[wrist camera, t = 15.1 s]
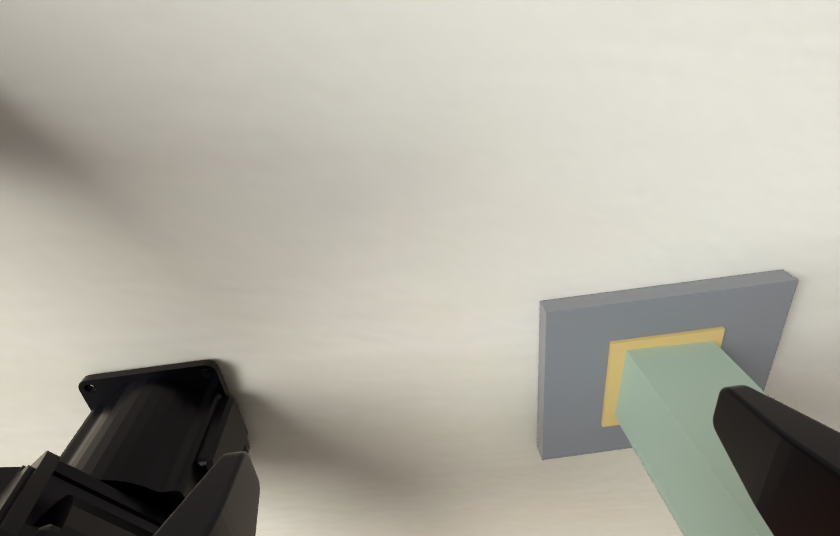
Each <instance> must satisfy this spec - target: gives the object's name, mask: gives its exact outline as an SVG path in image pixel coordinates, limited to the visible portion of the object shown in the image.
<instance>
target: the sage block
mask: <svg viewBox="0 0 840 536" xmlns="http://www.w3.org/2000/svg"><path fill="white" fill-rule="evenodd" d="M735 385H746V386H749V387H751V388H753V389H755V390H757V391H759V392H761V393H763V394H765V395H767V394H766V393H765V392H764V391H763V390H762V389H761V388H760V387H759V386H758V385H757V384H756V383H755V382H754V381H753V380H752V379H751V378H750V377H749V376H748V375H747V374H746V373H745V372H744V371H743V370H742V369H741V368H740V367H739V366H738V365H737V364H736V363H735V362H734V361H733V360H732V359H731V358H730V357H729V356H728V355H727V354H726V353H725V352H724V351H723V350H722V349H721V348H720V347H719V346H718V345H717V344H716V343H715V342H714V341H711V342H701V343H691V344H681V345H672V346H662V347H652V348H642V349H633V350H626V354H625V359H624V365H623V371H622V377H621V383H620V388H619V394H618V400H617V406H616V411H615V417H616V419H617V421H618V423H619V424H620V426H621V428H622V430H623V431H624V433H625V435H626V436H627V438H628V440H629V442H630V443H631V445H632V447H633V449H634V450H635V452H636V454H637V455H638V457H639V459H640V461H641V462H642V464H643V466H644V468H645V469H646V471H647V473H648V475H649V476H650V478H651V480H652V481H653V483H654V485H655V487H656V488H657V490H658V492H659V494H660V495H661V497H662V499H663V500H664V502H665V504H666V506H667V507H668V509H669V511H670V513H671V514H672V516H673V518H674V520H675V521H676V523H677V525H678V526H679V528H680V530H681V532H682V533H683V535H684V536H774V535H773V534H772V532H771V531H770V529H769V527H768V526H767V524H766V523H765V521H764V520H763V518H762V517H761V515H760V513H759V512H758V510H757V509H756V507H755V505H754V503H753V502H752V500H751V498H750V496H749V495H748V493H747V491H746V489H745V487H744V485H743V483H742V481H741V479H740V477H739V475H738V474H737V472H736V470H735V468H734V466H733V464H732V462H731V460H730V458H729V456H728V454H727V453H726V451H725V449H724V447H723V445H722V443H721V441H720V439H719V437H718V435H717V433H716V431H715V429H714V426H713V414H714V411H715V407H716V403H717V399H718V395H719V392H720V390H721V389H722V388H724V387H728V386H735ZM767 396H768V395H767Z"/></svg>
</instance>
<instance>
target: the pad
mask: <svg viewBox="0 0 840 536" xmlns="http://www.w3.org/2000/svg"><path fill="white" fill-rule="evenodd" d="M797 283H798V279H797V278H795V277H793V276H792V275H790V274H789V273H787V272H786V271H784V270H776V271H768V272H761V273H753V274H745V275H738V276H730V277H722V278H714V279H707V280H699V281H691V282H683V283H676V284H668V285H660V286H653V287H645V288H637V289H629V290H622V291H614V292H606V293H599V294H591V295H583V296H575V297H568V298H560V299H552V300H544V301H540V327H539V376H538V425H537V447H538V450H539V453H540V455H541V458H542V460H546V459H553V458H560V457H568V456H575V455H582V454H590V453H597V452H604V451H611V450H619V449H626V448H633V447H632V445H631V443H630V442H629V440H628V438H627V436H626V435H625V433H624V431H623V430H622V428H621V426H620V424H619V423H618V421H617V419H616V417H615V411H616V406H617V400H618V394H619V388H620V383H621V377H622V371H623V365H624V359H625V354H626V350H633V349H642V348H652V347H662V346H672V345H681V344H691V343H701V342H711V341H714V342H715V343H716V344H717V345H718V346H719V347H720V348H721V349H722V350H723V351H724V352H725V353H726V354H727V355H728V356H729V357H730V358H731V359H732V360H733V361H734V362H735V363H736V364H737V365H738V366H739V367H740V368H741V369H742V370H743V371H744V372H745V373H746V374H747V375H748V376H749V377H750V378H751V379H752V380H753V381H754V382H755V383H756V384H757V385H758V386H759V387H760V388H761V389H762V390H763V391H764V388H765V385H766V382H767V379H768V375H769V372H770V369H771V366H772V363H773V359H774V356H775V353H776V350H777V347H778V344H779V340H780V337H781V334H782V331H783V328H784V324H785V321H786V318H787V315H788V312H789V308H790V305H791V302H792V299H793V296H794V292H795V289H796V286H797Z"/></svg>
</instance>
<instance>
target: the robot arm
mask: <svg viewBox="0 0 840 536" xmlns="http://www.w3.org/2000/svg"><path fill="white" fill-rule="evenodd" d="M204 369H208V370H210V371H211V372H207V371H205V370H204ZM90 385H92V386H90ZM93 386H94V387H93ZM79 390H80V392H81V394H82V396H83V397H84V399H85V401H86V403H87V404H88V406H89V408H90V410H91V413H90V414H89V416H88V417H87V418H86V420H85V421H84V423H83V424H82V426H81V427H80V429H79V430H78V431H77V433H76V434H75V436H74V437H73V439H72V440H71V442H70V443H69V444H68V446H67V447H66V449H65V450H64V452H63V453H62V455H61V456H60V457H59V456H57V455H55V454H53V453H51V452H49V451H46V452H45V453H44V454H43V455H42V456H41V457H40V458H39V459H37V460H36V461H35V462H34V463H33V464H32V465H31V466H30V465H28V466H27V467H26V466H24V465H23V466H22V467H0V536H255V534H256V524H257V514H258V504H259V494H260V485H259V480H258V477H257V474H256V471H255V469H254V466H253V464H252V461H251V459H250V456H249V454H248V453H249V450H250V446H249V443H248V441H247V435H248V431H247V429H246V426H245V423H244V421H243V418H242V415H241V413H240V410H239V407H238V405H237V402H236V400H235V398H234V397H232V396H231V395H230V394H229V391H228V388H227V386H226V383H225V380H224V378H223V375H222V373H221V370H220V367H219V366H218V364H217V363H216V362H214V361H211V360H201V361H193V362H186V363H178V364H170V365H163V366H155V367H147V368H140V369H132V370H124V371H117V372H109V373H101V374H94V375H88V376H86V377H85V378H84V379H83V380H82V381H81V382H80V384H79ZM713 426H714V429H715V431H716V433H717V435H718V437H719V439H720V441H721V443H722V445H723V447H724V449H725V451H726V453H727V454H728V456H729V458H730V460H731V462H732V464H733V466H734V468H735V470H736V472H737V474H738V475H739V477H740V479H741V481H742V483H743V485H744V487H745V489H746V491H747V493H748V495H749V496H750V498H751V500H752V502H753V503H754V505H755V507H756V509H757V510H758V512H759V513H760V515H761V517H762V518H763V520H764V521H765V523H766V524H767V526H768V527H769V529H770V531H771V532H772V534H773V535H774V536H840V433H839V432H837V431H835V430H834V429H832V428H830V427H828V426H826V425H824V424H822V423H820V422H818V421H816V420H814V419H812V418H810V417H808V416H806V415H804V414H802V413H800V412H798V411H796V410H794V409H792V408H790V407H788V406H786V405H784V404H783V403H781V402H779V401H777V400H775V399H773V398H771V397H769V396H767V395H765V394H763V393H761V392H759V391H757V390H755V389H753V388H751V387H749V386H746V385H735V386H728V387H724V388H722V389H721V390H720V392H719V395H718V399H717V403H716V407H715V411H714V414H713Z"/></svg>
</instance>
